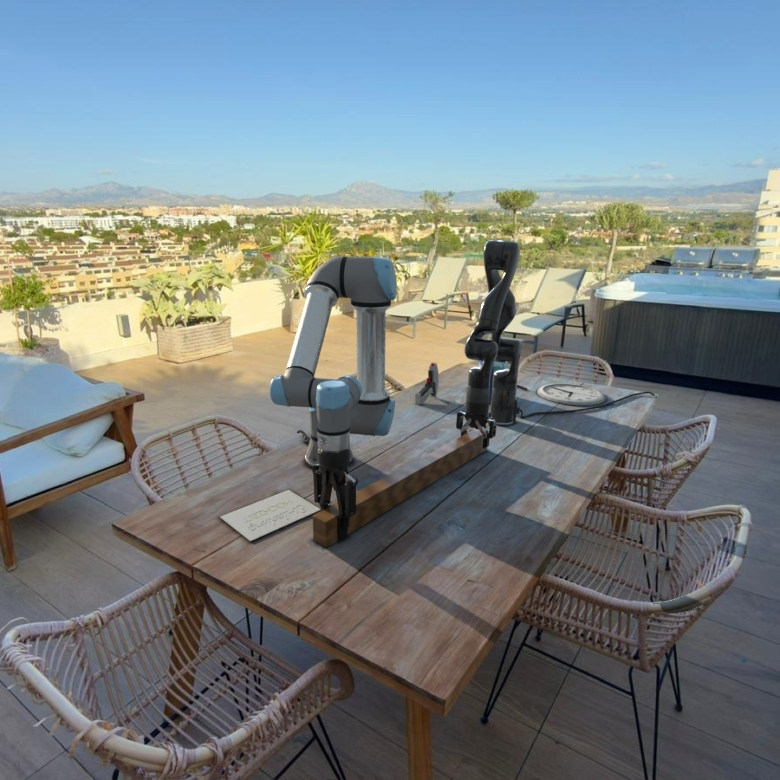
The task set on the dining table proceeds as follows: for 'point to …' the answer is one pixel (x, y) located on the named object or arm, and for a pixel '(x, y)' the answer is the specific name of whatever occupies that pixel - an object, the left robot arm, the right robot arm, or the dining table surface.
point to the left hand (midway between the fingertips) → (335, 534)
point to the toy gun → (429, 385)
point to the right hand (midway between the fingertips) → (474, 444)
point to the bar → (399, 486)
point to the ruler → (521, 387)
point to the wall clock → (571, 394)
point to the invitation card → (269, 514)
